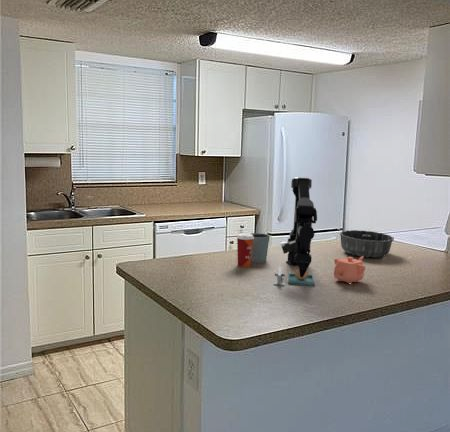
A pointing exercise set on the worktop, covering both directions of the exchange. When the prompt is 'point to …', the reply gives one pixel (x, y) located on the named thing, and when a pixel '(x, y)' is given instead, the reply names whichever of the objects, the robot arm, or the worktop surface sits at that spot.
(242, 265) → the paper cup
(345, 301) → the worktop surface
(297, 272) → the ball
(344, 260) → the pink piggy bank
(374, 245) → the bundt pan
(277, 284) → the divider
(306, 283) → the coaster tray
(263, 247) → the grey tapered cup
